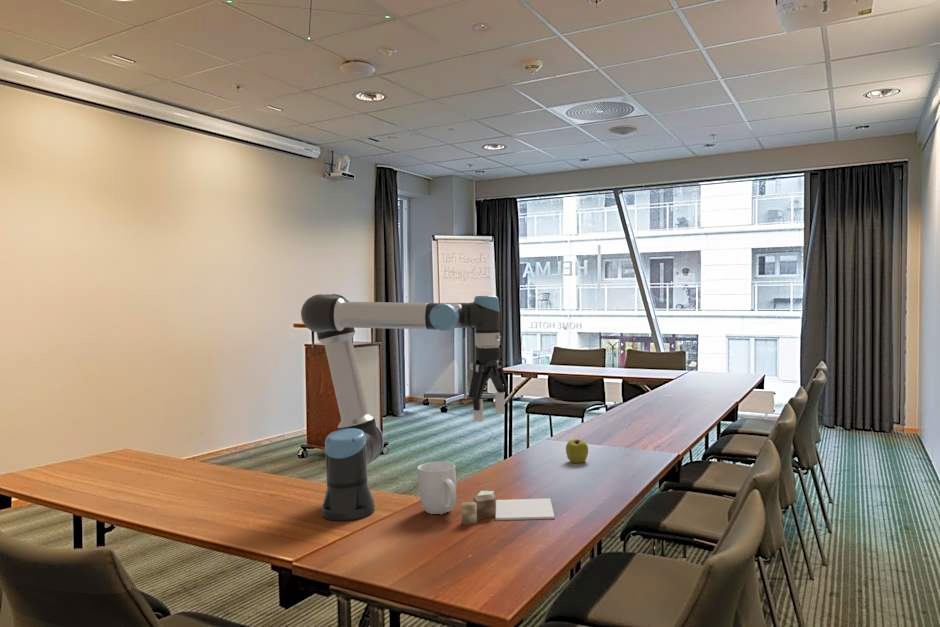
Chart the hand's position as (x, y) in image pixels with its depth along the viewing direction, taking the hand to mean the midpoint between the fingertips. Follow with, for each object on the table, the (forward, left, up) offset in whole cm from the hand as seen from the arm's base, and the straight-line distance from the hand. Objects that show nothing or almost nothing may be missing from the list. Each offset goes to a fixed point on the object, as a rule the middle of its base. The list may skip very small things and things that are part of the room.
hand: (489, 417), depth 194 cm
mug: (-15, -11, -25) cm, 31 cm away
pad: (+9, -11, -25) cm, 29 cm away
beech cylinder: (-6, -20, -25) cm, 32 cm away
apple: (+30, +41, -25) cm, 57 cm away
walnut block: (-2, -14, -25) cm, 29 cm away
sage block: (-2, -7, -25) cm, 26 cm away
